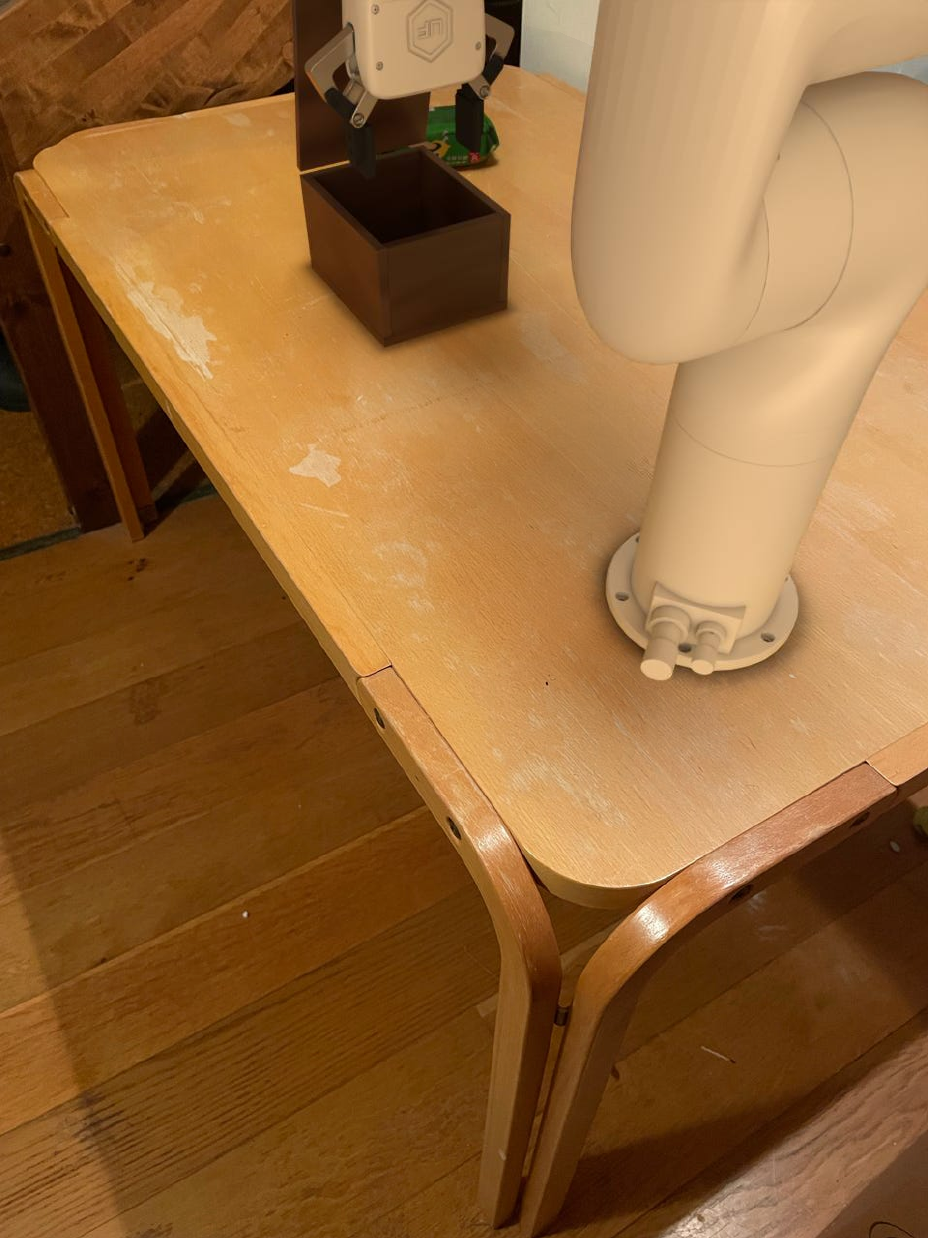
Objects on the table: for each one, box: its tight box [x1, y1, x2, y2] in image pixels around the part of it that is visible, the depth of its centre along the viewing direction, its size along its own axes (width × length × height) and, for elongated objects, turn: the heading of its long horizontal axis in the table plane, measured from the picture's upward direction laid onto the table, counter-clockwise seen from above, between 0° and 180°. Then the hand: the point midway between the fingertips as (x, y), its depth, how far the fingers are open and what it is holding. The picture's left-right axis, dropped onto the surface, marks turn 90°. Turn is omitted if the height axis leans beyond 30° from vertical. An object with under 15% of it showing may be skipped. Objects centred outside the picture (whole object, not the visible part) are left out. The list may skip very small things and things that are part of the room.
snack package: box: [375, 104, 500, 168], centre depth 101 cm, size 7×16×5 cm, turn 102°
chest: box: [299, 145, 512, 348], centre depth 82 cm, size 16×13×9 cm
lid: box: [291, 0, 432, 173], centre depth 76 cm, size 17×13×6 cm
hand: (417, 159), depth 74 cm, fingers open, 9 cm apart
